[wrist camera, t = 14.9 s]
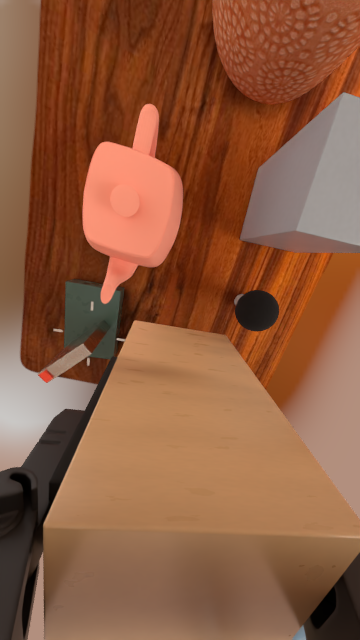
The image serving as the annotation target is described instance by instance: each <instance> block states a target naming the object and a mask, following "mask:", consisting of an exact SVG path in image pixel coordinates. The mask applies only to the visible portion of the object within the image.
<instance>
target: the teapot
mask: <svg viewBox="0 0 360 640" xmlns="http://www.w3.org/2000/svg"><path fill="white" fill-rule="evenodd" d="M158 127H159V115H158V111H157V109H156V107H155V106H153V105H151V104H147V105H145V106H144V107H143V109H142V111H141V113H140V117H139V120H138V125H137V129H136V134H135V139H134V144H133V149H132V148H129V147H125V146H122V145H119V144H115V143H111V142H103V143H101V144H100V145H99V146H98V147H97V149H96V150H95V153H94V155H93V157H92V161H91V164H90V167H89V171H88V175H87V179H86V184H85V189H84V197H83V228H84V233H85V236H86V239H87V241H88V242H89V244H90V245H91V246H92V247H93V248H94V249H96V250H97V251H99V252H101V253H103V254H106V255H108V256H110V260H109V265H108V270H107V275H106V279H105V281H104V284H103V287H102V290H101V301H102V303H104V304H106V303H108V302H109V301H110V300H111V298H112V296H113V294H114V292H115V290H116V288H117V286H118V285H119V284H121V283H122V282H124V281H126V280H127V279H129V278H130V277H131V276H132V275H133V274H134V272H135V270H136V268H137V267H138V265H140V266H146V267H156V266H159V265H160V264H161V263H162V262H163V261H164V260H165V258H166V257H167V255H168V253H169V251H170V250H171V248H172V246H173V243H174V241H175V238H176V236H177V233H178V230H179V226H180V221H181V216H182V207H183V186H182V181H181V178H180V176H179V174H178V173H177V171H176V170H175V169H173V168H172V167H171V166H169V165H167V164H165V163H163V162H162V161H160V160H158V159H156V158H155V152H156V144H157V137H158Z"/></svg>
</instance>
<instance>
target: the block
mask: <svg viewBox="0 0 360 640" xmlns="http://www.w3.org/2000/svg"><path fill="white" fill-rule="evenodd" d="M359 552H360V519H359V518H358V516H357V515H356V514H355V512H354V511H353V510H352V508H351V507H350V506H349V504H348V503H347V501H346V500H345V499H344V497H343V496H342V495H341V493H340V492H339V490H338V489H337V488H336V486H335V485H334V484H333V482H332V481H331V479H330V478H329V477H328V475H327V474H326V472H325V471H324V470H323V468H322V467H321V466H320V464H319V463H318V461H317V460H316V459H315V457H314V456H313V455H312V453H311V452H310V450H309V449H308V448H307V446H306V445H305V443H304V442H303V441H302V439H301V438H300V437H299V435H298V434H297V432H296V431H295V430H294V428H293V427H292V426H291V424H290V423H289V421H288V420H287V419H286V417H285V416H284V415H283V413H282V412H281V410H280V409H279V408H278V407H277V405H276V404H275V402H274V401H273V399H272V398H271V397H270V395H269V394H268V393H267V391H266V390H265V388H264V387H263V386H262V384H261V383H260V382H259V380H258V379H257V377H256V376H255V375H254V373H253V372H252V371H251V369H250V368H249V366H248V365H247V364H246V362H245V361H244V360H243V358H242V357H241V355H240V354H239V353H238V351H237V350H236V348H235V347H234V346H233V344H232V343H231V342H230V340H229V339H228V337H227V336H226V335H222V334H215V333H209V332H203V331H197V330H191V329H185V328H179V327H173V326H166V325H160V324H154V323H148V322H142V321H136V320H135V321H134V322H133V324H132V327H131V329H130V331H129V333H128V336H127V338H126V340H125V342H124V344H123V347H122V349H121V351H120V353H119V356H118V358H117V360H116V362H115V365H114V367H113V369H112V371H111V374H110V376H109V378H108V380H107V383H106V385H105V387H104V389H103V391H102V394H101V396H100V398H99V400H98V403H97V405H96V407H95V409H94V412H93V414H92V416H91V418H90V421H89V423H88V425H87V427H86V430H85V432H84V434H83V436H82V438H81V441H80V443H79V445H78V447H77V450H76V452H75V454H74V456H73V459H72V461H71V463H70V465H69V468H68V470H67V472H66V474H65V477H64V479H63V481H62V483H61V485H60V488H59V490H58V492H57V494H56V497H55V499H54V501H53V503H52V506H51V508H50V510H49V512H48V515H47V517H46V519H45V521H44V524H43V558H44V559H43V560H44V640H292V638H293V637H294V636H295V634H296V633H297V632H298V631H299V629H300V628H301V627H302V625H303V624H304V623H305V622H306V620H307V619H308V618H309V616H310V615H311V614H312V613H313V611H314V610H315V609H316V608H317V606H318V605H319V604H320V602H321V601H322V600H323V599H324V597H325V596H326V595H327V593H328V592H329V591H330V590H331V588H332V587H333V586H334V584H335V583H336V582H337V581H338V579H339V578H340V577H341V576H342V574H343V573H344V572H345V570H346V569H347V568H348V567H349V565H350V564H351V563H352V561H353V560H354V559H355V558H356V556H357V555H358V554H359Z"/></svg>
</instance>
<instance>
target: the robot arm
mask: <svg viewBox="0 0 360 640" xmlns="http://www.w3.org/2000/svg"><path fill="white" fill-rule="evenodd" d="M117 358H118V357H113V356H112V358H111V360H110V362H109V364H108V366H107V368H106V370H105V372H104V374H103V376H102V378H101V380H100V382H99V384H98V386H97V388H96V390H95V392H94V394H93V396H92V398H91V400H90V402H89V404H88V406H87V407H86V410H85V411H81V410H71V409H65V410H64V411H62V412H61V413H60V414H58V415H57V416H56V417H55V418H54V419H53V420H52V421H51V423H50V425H49V426H48V427H47V429H46V431H45V432H44V434H43V435H42V437H41V438H40V440H39V442H38V443H37V444H36V445H35V447H34V449H33V450H32V451H31V453H30V454H29V456H28V457H27V459H26V460H25V462H24V464H23V465H22V466H21V467H16V468H10V469H7V470H4V471H1V472H0V640H27V639H28V632H29V626H30V620H31V614H32V608H33V603H34V597H35V591H36V585H37V579H38V573H39V560H40V557H41V555H42V552H43V524H44V521H45V519H46V517H47V515H48V512H49V510H50V508H51V506H52V503H53V501H54V499H55V497H56V494H57V492H58V490H59V488H60V485H61V483H62V481H63V479H64V477H65V474H66V472H67V470H68V468H69V465H70V463H71V461H72V459H73V456H74V454H75V452H76V450H77V447H78V445H79V443H80V441H81V438H82V436H83V434H84V432H85V430H86V427H87V425H88V423H89V421H90V418H91V416H92V414H93V412H94V409H95V407H96V405H97V403H98V400H99V398H100V396H101V394H102V391H103V389H104V387H105V385H106V383H107V380H108V378H109V376H110V374H111V371H112V369H113V367H114V365H115V362H116V360H117ZM292 640H360V552H359V554H358V555H357V556H356V558H355V559H354V560H353V561H352V563H351V564H350V565H349V567H348V568H347V569H346V570H345V572H344V573H343V574H342V576H341V577H340V578H339V579H338V581H337V582H336V583H335V584H334V586H333V587H332V588H331V590H330V591H329V592H328V593H327V595H326V596H325V597H324V599H323V600H322V601H321V602H320V604H319V605H318V606H317V608H316V609H315V610H314V611H313V613H312V614H311V615H310V616H309V618H308V619H307V620H306V622H305V623H304V624H303V625H302V627H301V628H300V629H299V631H298V632H297V633H296V634H295V636H294V637H293V638H292Z"/></svg>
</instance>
